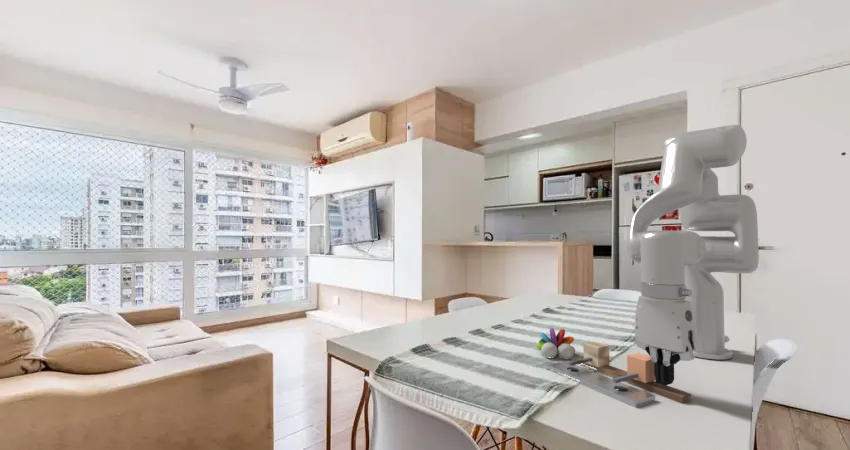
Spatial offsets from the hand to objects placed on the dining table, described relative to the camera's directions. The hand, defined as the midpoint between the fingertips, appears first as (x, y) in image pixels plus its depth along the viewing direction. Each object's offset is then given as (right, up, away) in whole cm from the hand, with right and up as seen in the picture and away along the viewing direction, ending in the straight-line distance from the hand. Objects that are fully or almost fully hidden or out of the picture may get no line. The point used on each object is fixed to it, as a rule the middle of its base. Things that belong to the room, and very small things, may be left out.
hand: (664, 382), depth 75 cm
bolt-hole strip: (-12, -2, +5) cm, 13 cm away
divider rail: (-7, -2, +5) cm, 9 cm away
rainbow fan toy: (-13, -3, +24) cm, 28 cm away
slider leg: (-5, -1, +2) cm, 6 cm away
